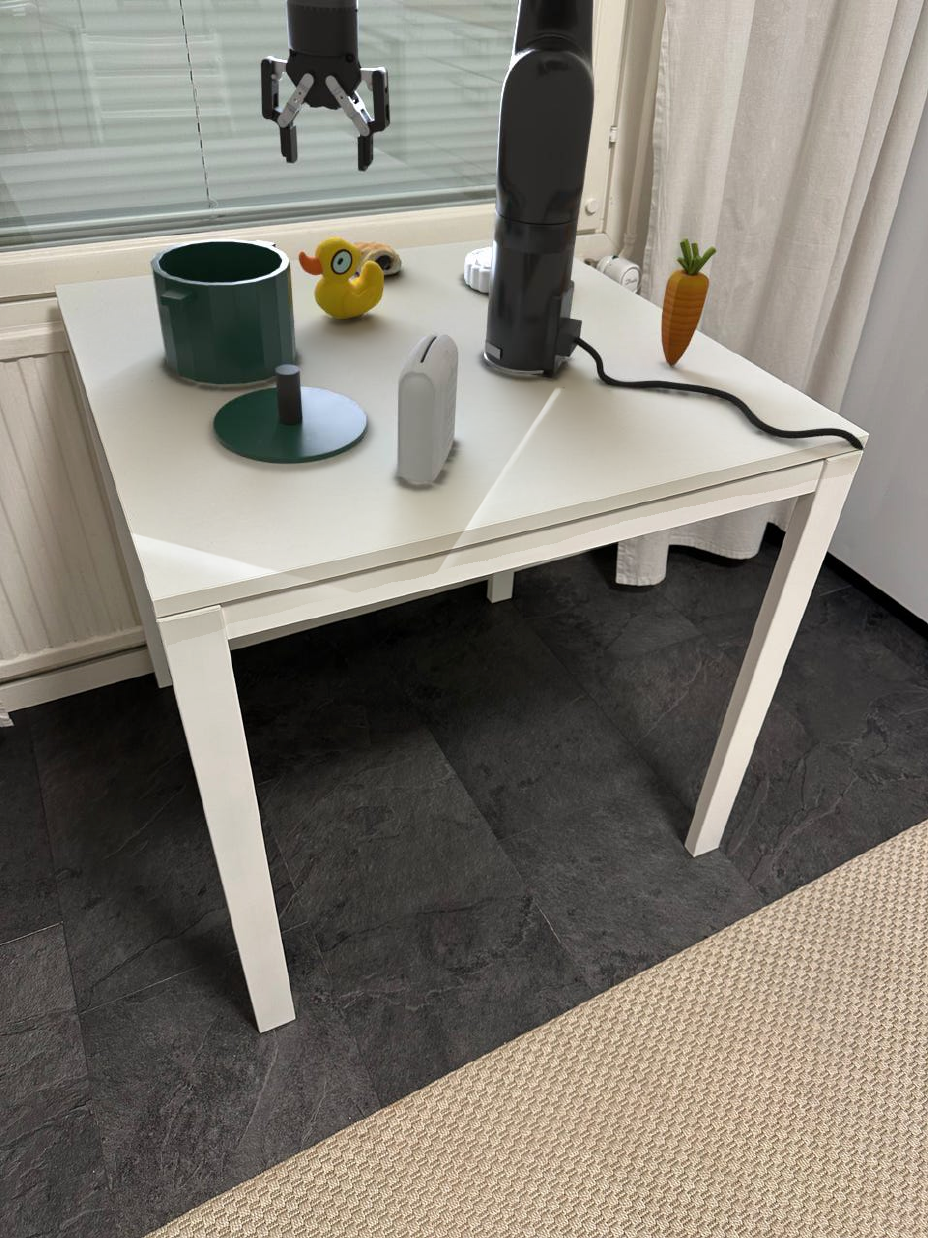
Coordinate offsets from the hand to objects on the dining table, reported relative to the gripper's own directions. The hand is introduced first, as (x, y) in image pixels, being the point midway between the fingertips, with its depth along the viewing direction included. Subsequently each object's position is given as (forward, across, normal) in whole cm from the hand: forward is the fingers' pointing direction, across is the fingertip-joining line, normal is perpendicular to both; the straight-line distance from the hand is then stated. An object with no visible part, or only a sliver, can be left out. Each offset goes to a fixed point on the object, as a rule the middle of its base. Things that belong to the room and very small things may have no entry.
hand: (327, 165), depth 107 cm
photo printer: (+18, +19, -32) cm, 42 cm away
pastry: (+19, 0, +20) cm, 27 cm away
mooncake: (+18, +20, +20) cm, 34 cm away
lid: (+18, +4, -30) cm, 35 cm away
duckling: (+18, +1, +1) cm, 19 cm away
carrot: (+18, +43, -2) cm, 47 cm away
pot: (+18, -8, -16) cm, 25 cm away
